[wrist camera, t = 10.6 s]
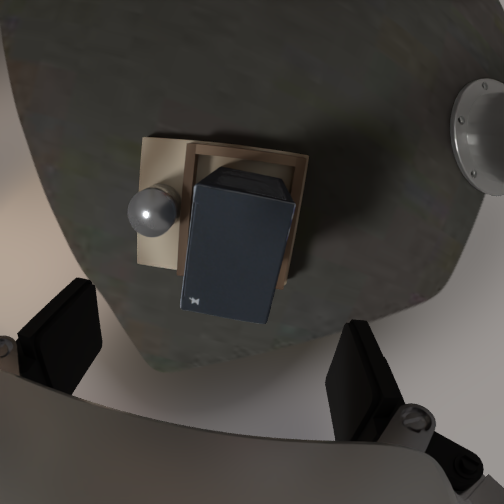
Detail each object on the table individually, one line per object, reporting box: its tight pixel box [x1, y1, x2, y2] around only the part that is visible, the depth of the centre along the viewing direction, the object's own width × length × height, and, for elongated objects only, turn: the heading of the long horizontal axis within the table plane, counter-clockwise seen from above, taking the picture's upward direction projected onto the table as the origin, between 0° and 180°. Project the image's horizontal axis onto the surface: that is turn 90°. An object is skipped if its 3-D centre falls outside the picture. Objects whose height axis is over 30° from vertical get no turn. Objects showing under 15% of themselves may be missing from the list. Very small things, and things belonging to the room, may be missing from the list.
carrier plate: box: [128, 137, 309, 290], centre depth 27 cm, size 14×12×4 cm
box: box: [180, 166, 296, 324], centre depth 23 cm, size 8×6×11 cm
